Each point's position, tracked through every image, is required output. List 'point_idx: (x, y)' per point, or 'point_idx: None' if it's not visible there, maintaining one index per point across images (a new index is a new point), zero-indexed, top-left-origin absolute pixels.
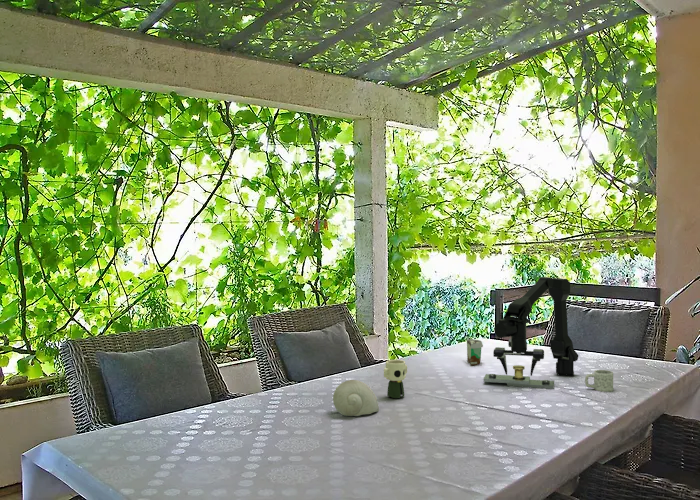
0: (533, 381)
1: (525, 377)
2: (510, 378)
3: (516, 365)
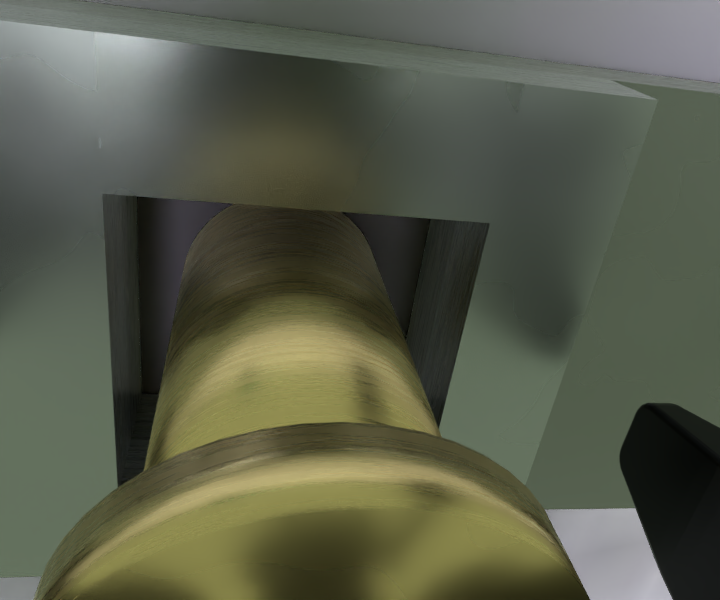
0: (634, 271)
1: (488, 249)
2: (56, 437)
3: (188, 580)
